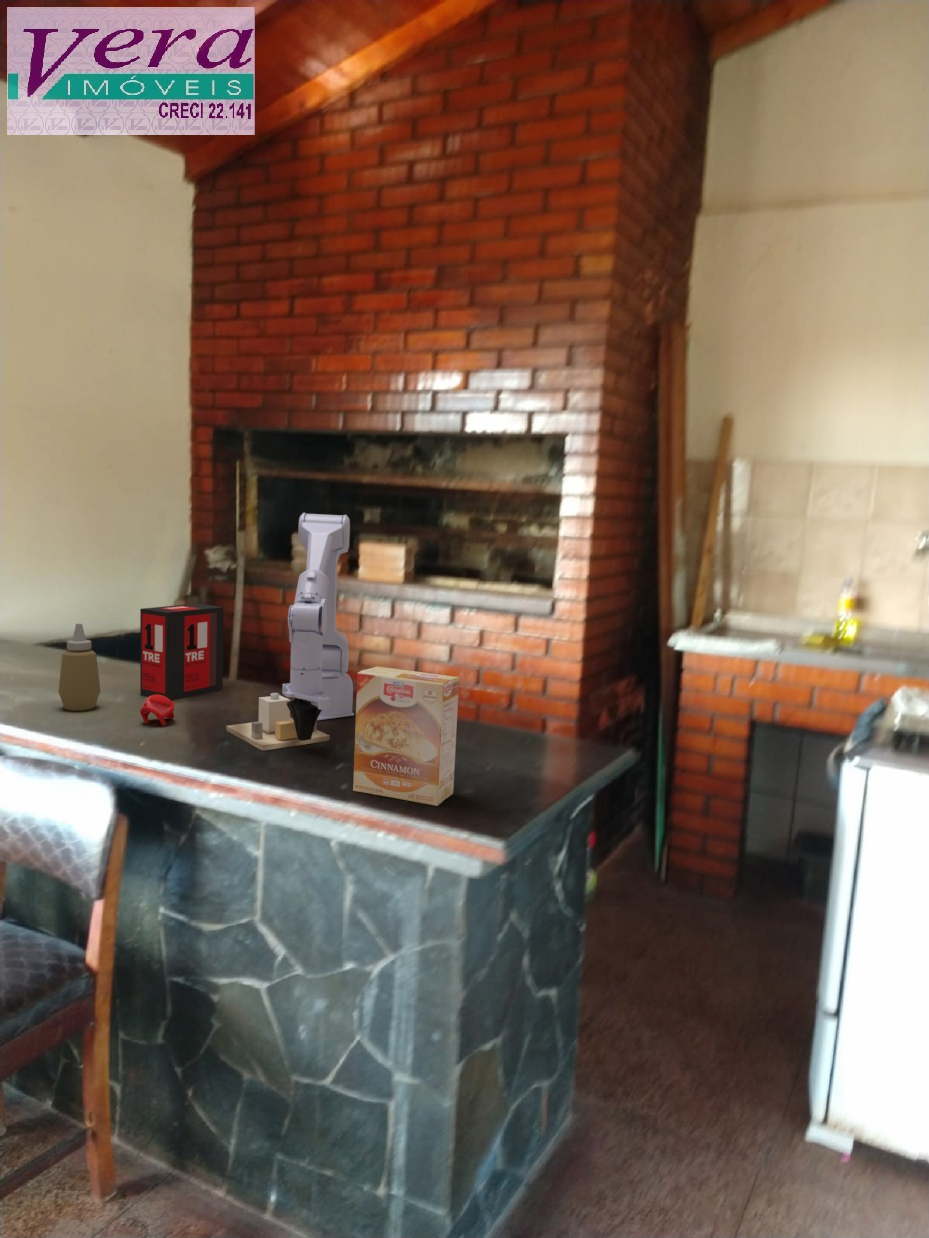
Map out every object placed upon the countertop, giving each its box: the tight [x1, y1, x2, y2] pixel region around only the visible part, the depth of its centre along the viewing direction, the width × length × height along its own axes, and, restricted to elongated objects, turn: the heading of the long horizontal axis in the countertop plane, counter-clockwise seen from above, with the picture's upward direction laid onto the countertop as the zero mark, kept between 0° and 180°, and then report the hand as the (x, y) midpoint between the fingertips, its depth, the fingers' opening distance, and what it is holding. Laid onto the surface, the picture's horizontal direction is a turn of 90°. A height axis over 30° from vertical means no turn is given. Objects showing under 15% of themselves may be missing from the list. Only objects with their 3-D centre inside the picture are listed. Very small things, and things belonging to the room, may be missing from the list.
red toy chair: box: [139, 695, 175, 727], centre depth 171 cm, size 8×6×6 cm
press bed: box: [225, 717, 330, 752], centre depth 166 cm, size 14×16×4 cm
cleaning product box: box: [139, 603, 225, 702], centre depth 197 cm, size 16×9×20 cm, turn 150°
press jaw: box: [275, 720, 298, 740], centre depth 161 cm, size 6×2×3 cm, turn 129°
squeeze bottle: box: [58, 623, 101, 712], centre depth 179 cm, size 8×8×18 cm
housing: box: [258, 692, 291, 733], centre depth 167 cm, size 4×4×7 cm
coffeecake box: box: [352, 666, 460, 807], centre depth 136 cm, size 15×7×20 cm, turn 69°
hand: (304, 739), depth 158 cm, fingers closed
